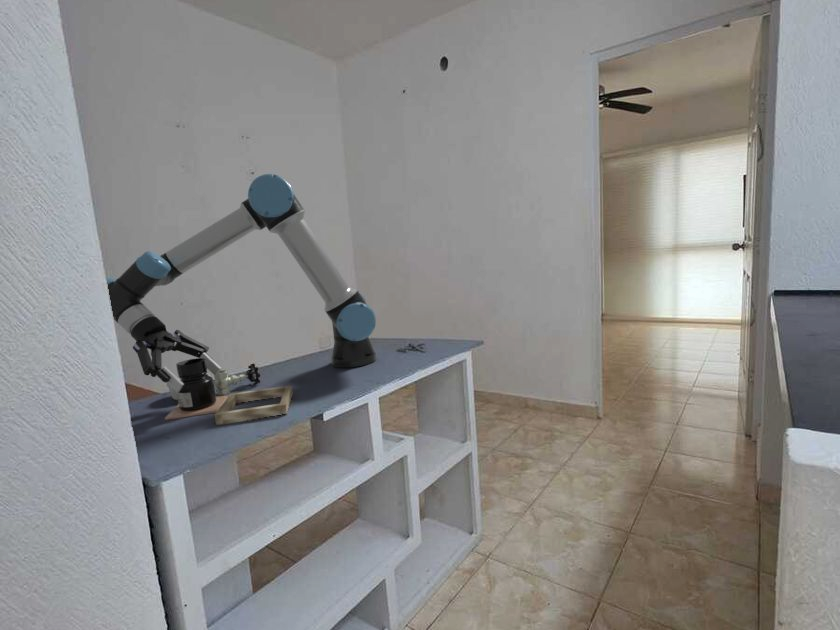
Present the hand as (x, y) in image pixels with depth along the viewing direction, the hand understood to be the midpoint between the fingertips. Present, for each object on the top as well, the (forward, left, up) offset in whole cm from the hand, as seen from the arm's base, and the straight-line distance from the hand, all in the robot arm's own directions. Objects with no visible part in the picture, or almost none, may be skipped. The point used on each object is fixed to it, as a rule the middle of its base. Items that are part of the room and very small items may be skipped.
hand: (200, 379), depth 113 cm
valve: (-5, -14, -8) cm, 17 cm away
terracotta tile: (+2, -1, -8) cm, 8 cm away
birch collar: (-14, +7, -8) cm, 18 cm away
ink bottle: (+2, -1, -7) cm, 8 cm away
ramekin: (+8, -14, -8) cm, 18 cm away
